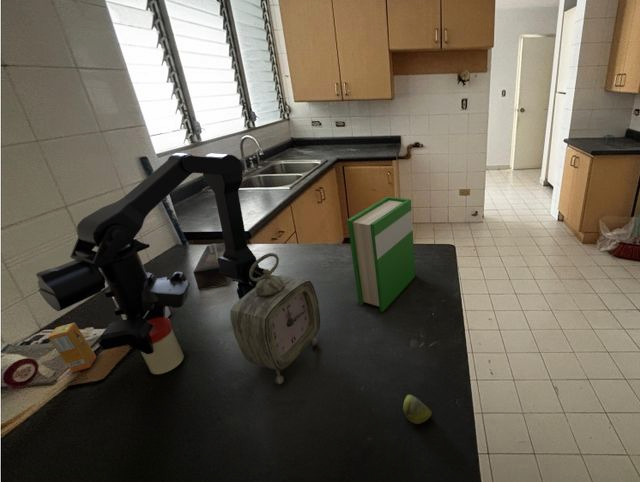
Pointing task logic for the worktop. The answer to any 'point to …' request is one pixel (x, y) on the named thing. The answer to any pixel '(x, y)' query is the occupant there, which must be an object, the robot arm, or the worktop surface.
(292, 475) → the worktop surface
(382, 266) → the hardback book
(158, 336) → the jam lid
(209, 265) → the beverage carton
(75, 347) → the supplement box
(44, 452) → the worktop surface
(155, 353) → the jam jar
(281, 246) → the worktop surface
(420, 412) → the lime
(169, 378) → the worktop surface
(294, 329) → the tabletop clock
